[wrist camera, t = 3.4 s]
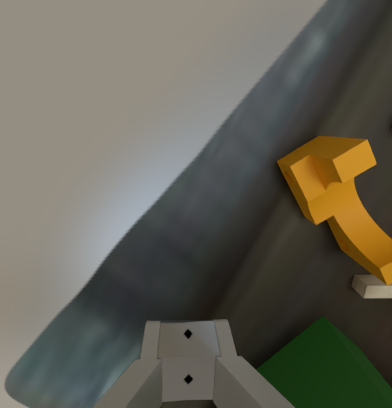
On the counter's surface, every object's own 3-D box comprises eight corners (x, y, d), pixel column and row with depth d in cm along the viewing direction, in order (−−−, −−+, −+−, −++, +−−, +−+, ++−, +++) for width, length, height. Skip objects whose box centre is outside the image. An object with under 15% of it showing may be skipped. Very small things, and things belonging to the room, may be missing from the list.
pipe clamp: (275, 161, 24) (309, 173, 17) (317, 135, 23) (367, 139, 17) (324, 257, 27) (367, 295, 21) (362, 236, 26) (417, 270, 20)
